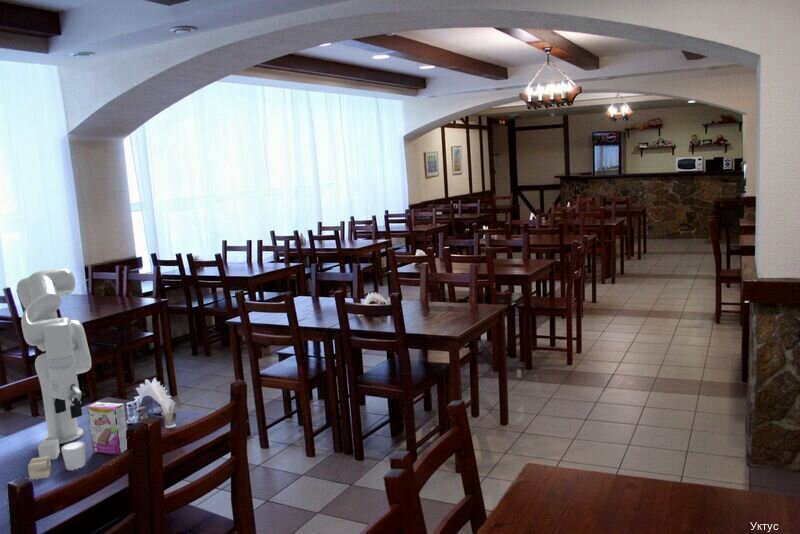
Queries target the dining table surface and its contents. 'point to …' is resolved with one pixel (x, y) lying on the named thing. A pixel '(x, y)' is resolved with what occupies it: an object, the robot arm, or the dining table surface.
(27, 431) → the dining table surface
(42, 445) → the grey block
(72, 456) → the white cup
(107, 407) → the candy bar box
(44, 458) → the birch block
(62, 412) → the robot arm
